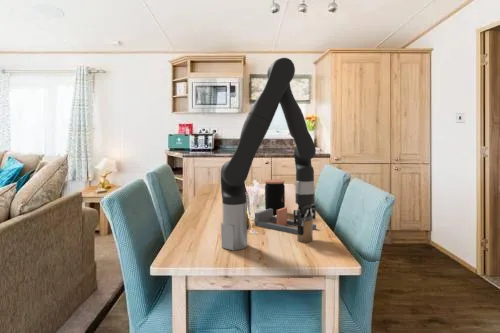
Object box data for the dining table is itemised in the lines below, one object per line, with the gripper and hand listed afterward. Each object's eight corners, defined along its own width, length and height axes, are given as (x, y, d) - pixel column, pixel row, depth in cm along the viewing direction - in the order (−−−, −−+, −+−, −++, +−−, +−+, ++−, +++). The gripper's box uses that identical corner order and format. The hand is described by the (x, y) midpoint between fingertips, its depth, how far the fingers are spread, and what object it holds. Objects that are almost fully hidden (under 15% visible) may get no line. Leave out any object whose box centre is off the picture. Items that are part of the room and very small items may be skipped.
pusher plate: (287, 224, 152) (287, 207, 151) (278, 227, 146) (278, 210, 146) (279, 222, 154) (279, 206, 154) (271, 226, 149) (271, 209, 148)
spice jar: (307, 244, 125) (307, 219, 124) (294, 240, 129) (294, 216, 128) (315, 239, 130) (315, 215, 129) (302, 237, 134) (302, 213, 133)
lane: (316, 228, 145) (316, 215, 144) (302, 235, 136) (302, 221, 135) (269, 220, 161) (269, 208, 161) (255, 225, 152) (254, 213, 152)
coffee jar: (285, 215, 170) (285, 182, 168) (265, 215, 170) (265, 182, 168) (283, 210, 180) (283, 179, 179) (265, 211, 180) (264, 179, 179)
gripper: (305, 188, 135) (305, 226, 137) (287, 193, 124) (287, 235, 126) (321, 190, 130) (321, 229, 132) (304, 195, 119) (304, 238, 121)
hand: (305, 232), depth 129 cm, fingers open, 6 cm apart
